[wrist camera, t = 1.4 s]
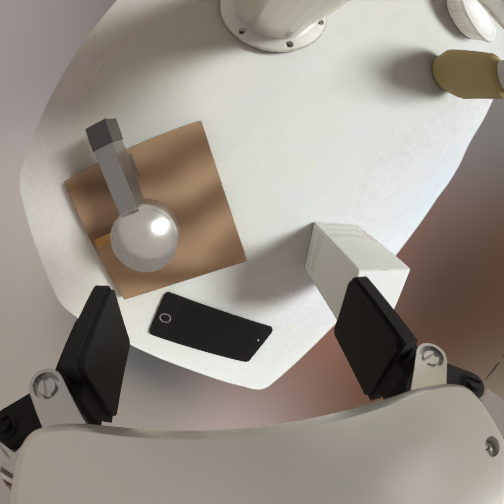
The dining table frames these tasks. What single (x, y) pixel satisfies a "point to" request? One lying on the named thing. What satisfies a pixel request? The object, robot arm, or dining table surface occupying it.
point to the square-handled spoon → (133, 206)
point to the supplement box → (351, 263)
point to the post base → (176, 198)
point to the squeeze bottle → (470, 74)
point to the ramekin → (472, 19)
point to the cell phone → (208, 328)
